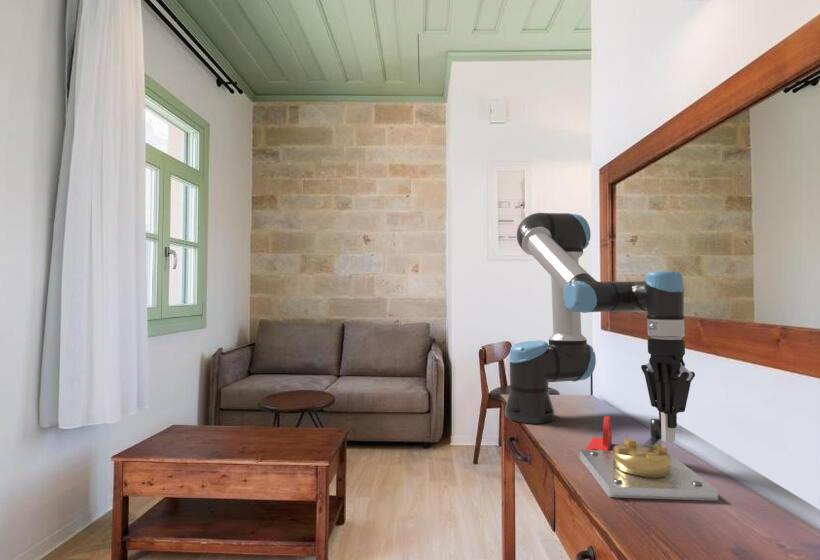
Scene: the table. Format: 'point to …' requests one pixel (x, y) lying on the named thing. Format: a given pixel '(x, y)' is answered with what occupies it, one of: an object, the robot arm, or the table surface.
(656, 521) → the table surface
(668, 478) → the flange plate
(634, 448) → the ball knob lever
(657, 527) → the table surface
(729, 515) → the table surface
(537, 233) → the robot arm
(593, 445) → the bracket
